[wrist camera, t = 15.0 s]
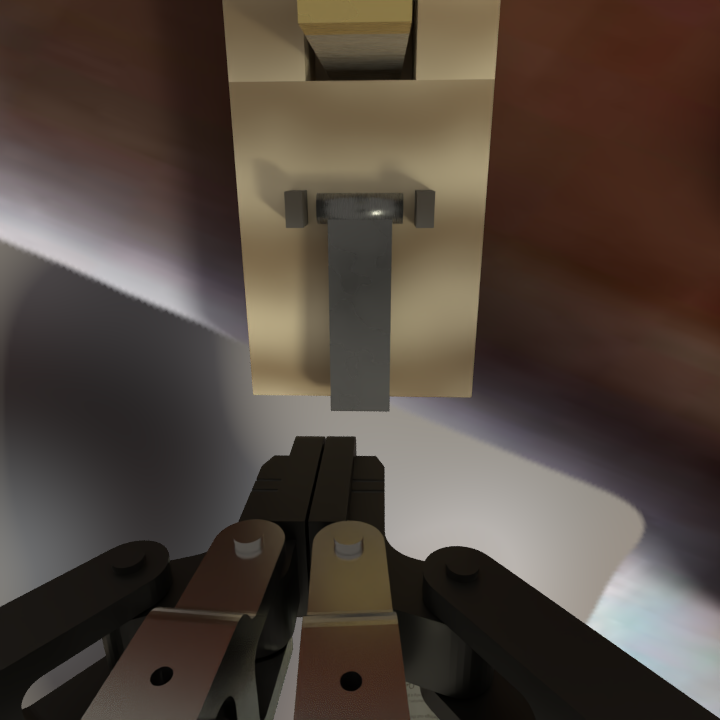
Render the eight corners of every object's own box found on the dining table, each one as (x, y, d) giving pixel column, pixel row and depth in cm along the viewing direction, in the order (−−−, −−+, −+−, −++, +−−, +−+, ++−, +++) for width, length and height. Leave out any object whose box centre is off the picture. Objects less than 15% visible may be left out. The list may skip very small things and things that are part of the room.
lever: (398, 403, 28) (399, 413, 27) (323, 402, 29) (320, 412, 27) (402, 193, 25) (403, 192, 24) (319, 193, 26) (315, 192, 24)
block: (458, 365, 34) (477, 411, 27) (270, 363, 34) (245, 408, 28) (488, -103, 26) (523, -193, 19) (241, -97, 26) (195, -183, 20)
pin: (399, 79, 28) (411, 21, 17) (330, 80, 28) (297, 23, 17) (401, -2, 26) (414, -122, 16) (329, -1, 27) (292, -119, 16)
